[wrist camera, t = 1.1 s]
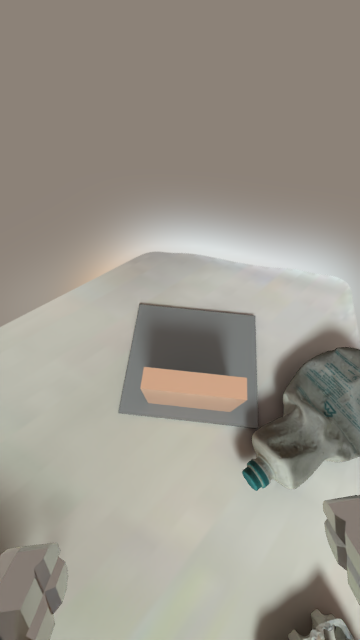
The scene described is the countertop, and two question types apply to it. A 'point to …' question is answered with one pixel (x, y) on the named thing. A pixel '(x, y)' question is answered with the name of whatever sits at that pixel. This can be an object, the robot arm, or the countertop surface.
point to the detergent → (311, 422)
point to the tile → (193, 389)
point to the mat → (192, 359)
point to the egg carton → (324, 622)
